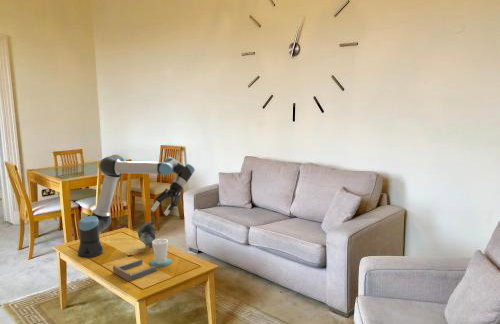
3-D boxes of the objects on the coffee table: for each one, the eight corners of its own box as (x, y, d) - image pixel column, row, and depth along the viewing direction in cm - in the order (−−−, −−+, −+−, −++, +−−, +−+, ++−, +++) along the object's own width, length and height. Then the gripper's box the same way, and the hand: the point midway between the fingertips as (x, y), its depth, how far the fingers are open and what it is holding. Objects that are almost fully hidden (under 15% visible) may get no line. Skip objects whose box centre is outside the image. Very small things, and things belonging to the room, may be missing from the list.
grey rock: (132, 248, 253) (131, 222, 251) (150, 242, 266) (149, 217, 263) (147, 253, 245) (146, 226, 243) (164, 246, 258) (164, 220, 255)
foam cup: (171, 259, 233) (170, 239, 232) (164, 265, 224) (163, 244, 223) (157, 258, 236) (156, 238, 234) (149, 263, 227) (149, 243, 225)
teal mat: (145, 262, 230) (145, 262, 229) (163, 256, 239) (163, 256, 239) (158, 268, 221) (158, 268, 221) (176, 262, 231) (176, 261, 231)
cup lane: (113, 272, 216) (113, 266, 215) (141, 263, 229) (141, 256, 228) (128, 281, 205) (127, 274, 204) (156, 270, 218) (156, 264, 218)
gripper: (193, 191, 236) (174, 219, 227) (169, 185, 252) (151, 212, 243) (186, 184, 231) (167, 212, 222) (162, 179, 248) (143, 205, 239)
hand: (158, 212), depth 233 cm, fingers open, 13 cm apart
